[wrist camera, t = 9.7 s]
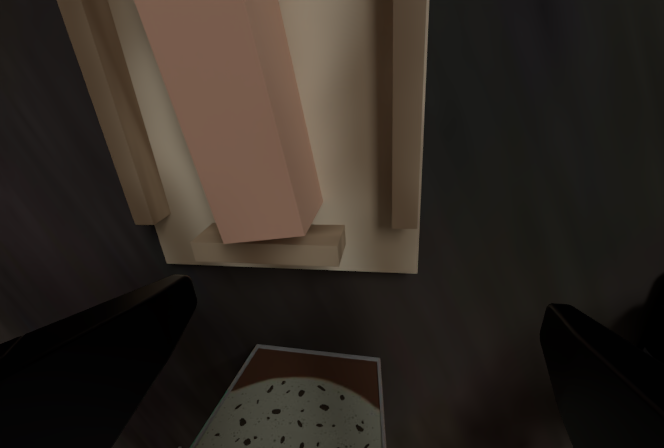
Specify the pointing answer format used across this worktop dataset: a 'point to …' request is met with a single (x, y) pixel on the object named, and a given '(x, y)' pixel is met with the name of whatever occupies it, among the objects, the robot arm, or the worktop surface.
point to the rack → (321, 120)
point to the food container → (299, 402)
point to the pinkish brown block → (238, 112)
